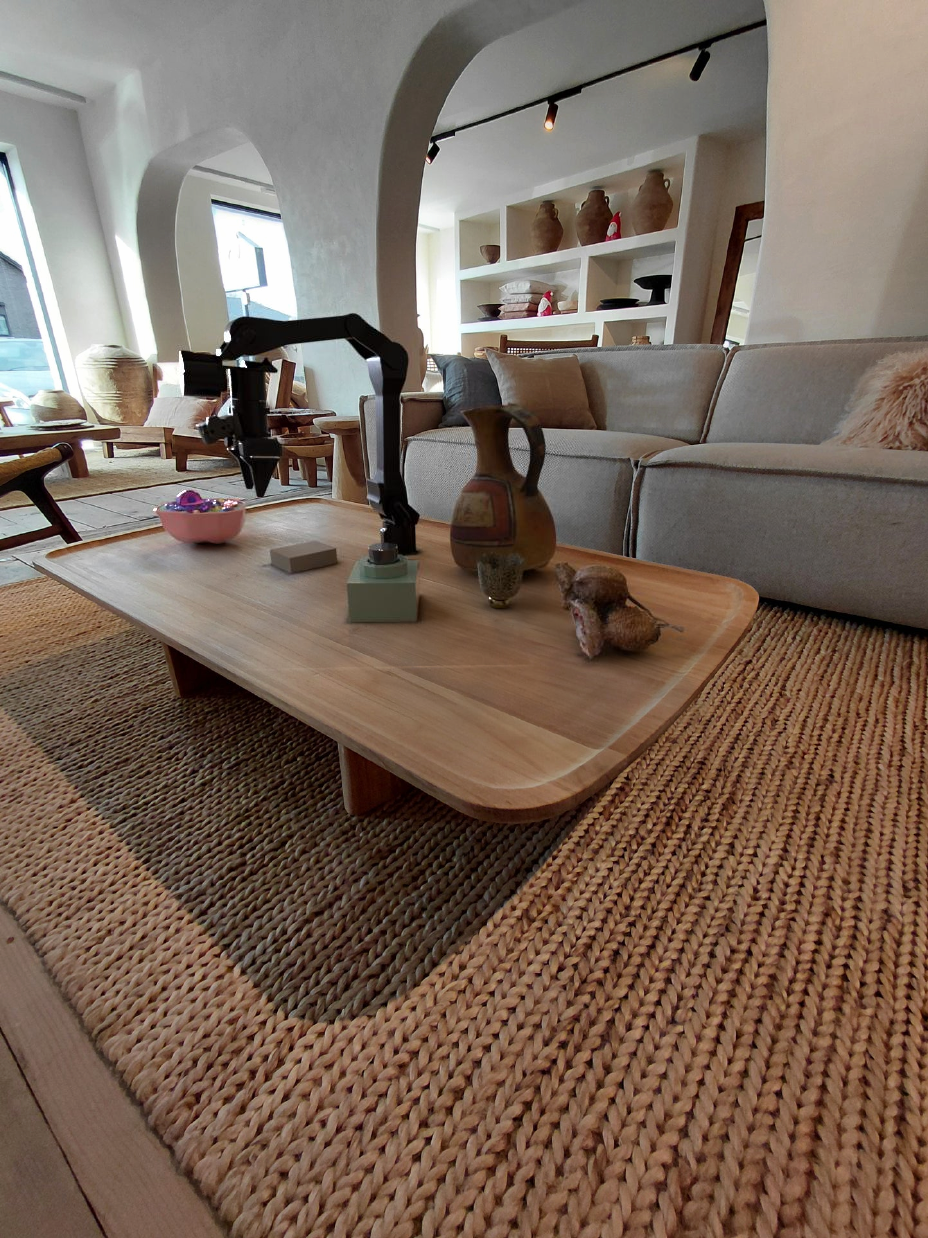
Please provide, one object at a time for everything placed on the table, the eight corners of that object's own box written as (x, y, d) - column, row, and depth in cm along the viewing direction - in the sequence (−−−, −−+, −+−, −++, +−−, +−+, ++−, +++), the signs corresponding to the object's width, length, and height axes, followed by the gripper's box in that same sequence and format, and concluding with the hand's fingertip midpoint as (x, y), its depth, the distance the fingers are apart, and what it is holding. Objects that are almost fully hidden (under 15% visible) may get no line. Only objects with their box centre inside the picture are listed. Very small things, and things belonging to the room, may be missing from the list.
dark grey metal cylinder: (371, 558, 90) (370, 542, 89) (399, 558, 90) (398, 542, 89) (367, 567, 86) (366, 550, 85) (397, 566, 86) (396, 550, 85)
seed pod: (578, 567, 89) (528, 559, 77) (685, 563, 79) (647, 552, 67) (576, 653, 89) (526, 657, 77) (683, 659, 79) (645, 665, 67)
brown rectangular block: (316, 554, 119) (315, 540, 118) (337, 562, 114) (336, 548, 113) (271, 564, 113) (269, 549, 112) (291, 573, 107) (289, 558, 106)
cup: (527, 600, 94) (529, 553, 91) (516, 617, 88) (518, 566, 85) (484, 595, 97) (484, 549, 93) (470, 611, 90) (470, 561, 87)
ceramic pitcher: (485, 549, 123) (488, 399, 111) (572, 566, 112) (585, 401, 100) (428, 572, 108) (424, 402, 96) (521, 594, 97) (530, 405, 86)
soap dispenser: (359, 596, 96) (355, 550, 93) (419, 596, 96) (417, 549, 93) (349, 622, 86) (345, 571, 83) (416, 621, 86) (414, 570, 83)
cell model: (211, 558, 117) (201, 502, 112) (144, 546, 125) (132, 493, 120) (270, 538, 131) (264, 488, 126) (206, 529, 139) (198, 481, 134)
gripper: (190, 395, 101) (198, 485, 107) (205, 398, 86) (214, 503, 92) (256, 399, 107) (261, 485, 112) (281, 403, 92) (285, 501, 97)
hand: (254, 493), depth 103 cm, fingers open, 9 cm apart
